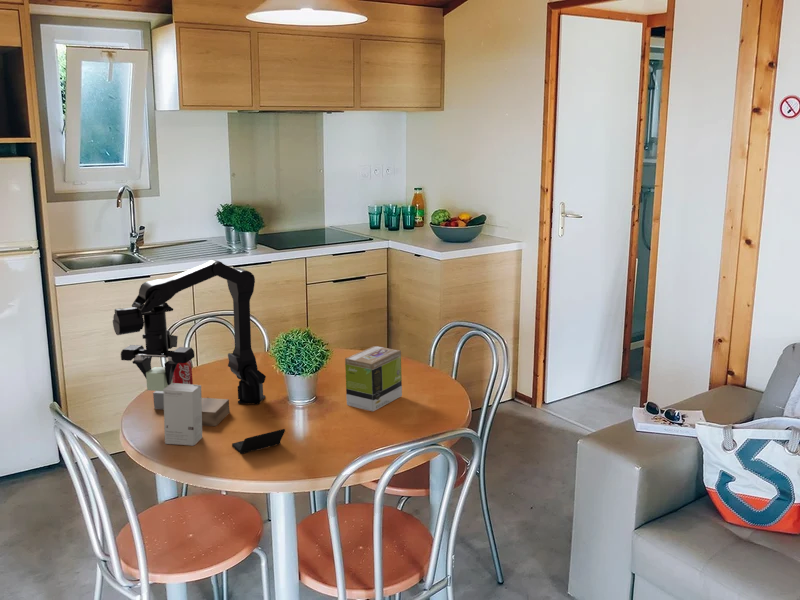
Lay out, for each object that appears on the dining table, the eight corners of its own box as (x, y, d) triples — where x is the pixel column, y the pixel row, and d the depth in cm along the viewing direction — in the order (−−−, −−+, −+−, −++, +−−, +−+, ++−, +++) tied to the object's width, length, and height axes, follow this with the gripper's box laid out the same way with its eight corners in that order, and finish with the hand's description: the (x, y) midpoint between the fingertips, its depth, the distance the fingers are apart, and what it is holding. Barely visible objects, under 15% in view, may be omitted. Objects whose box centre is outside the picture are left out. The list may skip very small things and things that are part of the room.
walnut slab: (229, 412, 217) (228, 399, 216) (216, 426, 208) (215, 412, 207) (196, 410, 219) (195, 397, 218) (181, 424, 209) (180, 410, 208)
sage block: (172, 385, 211) (171, 367, 210) (164, 391, 206) (163, 373, 205) (155, 384, 212) (154, 366, 210) (147, 390, 207) (145, 372, 206)
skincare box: (164, 444, 196) (160, 389, 193) (174, 435, 202) (170, 381, 199) (195, 446, 195) (192, 391, 192) (204, 436, 201) (201, 383, 198)
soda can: (197, 393, 233) (194, 355, 230) (188, 401, 226) (185, 362, 223) (174, 392, 234) (171, 354, 231) (165, 400, 227) (162, 361, 224)
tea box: (375, 390, 235) (375, 344, 231) (402, 397, 229) (402, 349, 226) (345, 405, 223) (344, 357, 219) (373, 412, 217) (372, 363, 214)
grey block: (178, 403, 224) (177, 387, 223) (170, 410, 220) (169, 393, 218) (162, 402, 225) (161, 386, 224) (154, 409, 220) (153, 392, 219)
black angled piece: (265, 428, 202) (273, 408, 195) (280, 450, 200) (289, 430, 193) (227, 447, 195) (235, 426, 188) (242, 469, 192) (250, 449, 186)
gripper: (200, 322, 211) (204, 375, 215) (137, 319, 214) (142, 372, 218) (183, 333, 201) (187, 389, 204) (117, 330, 203) (122, 386, 207)
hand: (160, 383), depth 209 cm, fingers closed on sage block, 5 cm apart
